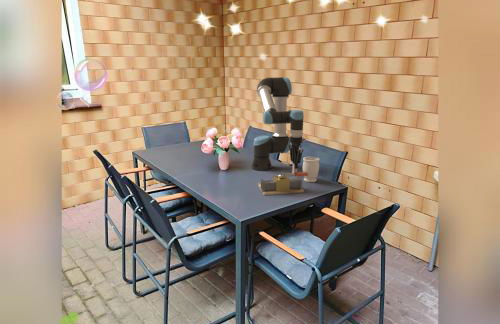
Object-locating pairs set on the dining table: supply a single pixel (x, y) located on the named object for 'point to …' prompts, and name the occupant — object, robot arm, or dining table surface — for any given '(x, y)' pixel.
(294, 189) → the board
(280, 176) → the lever
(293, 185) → the valve pipe
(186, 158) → the dining table surface
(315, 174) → the jar
